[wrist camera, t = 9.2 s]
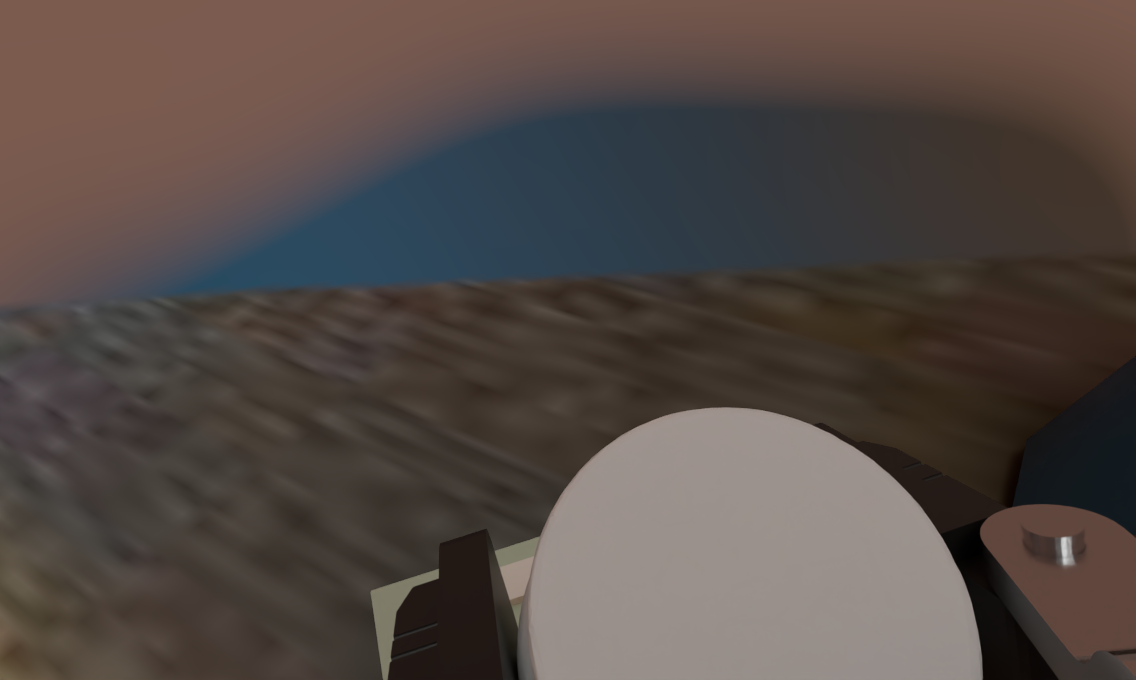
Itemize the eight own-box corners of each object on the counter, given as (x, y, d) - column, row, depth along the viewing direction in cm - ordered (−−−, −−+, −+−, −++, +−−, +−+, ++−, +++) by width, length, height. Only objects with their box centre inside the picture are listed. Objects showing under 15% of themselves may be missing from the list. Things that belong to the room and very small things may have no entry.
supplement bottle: (534, 588, 14) (460, 405, 7) (752, 547, 14) (888, 330, 7) (574, 872, 12) (520, 1028, 5) (838, 816, 12) (1176, 882, 5)
